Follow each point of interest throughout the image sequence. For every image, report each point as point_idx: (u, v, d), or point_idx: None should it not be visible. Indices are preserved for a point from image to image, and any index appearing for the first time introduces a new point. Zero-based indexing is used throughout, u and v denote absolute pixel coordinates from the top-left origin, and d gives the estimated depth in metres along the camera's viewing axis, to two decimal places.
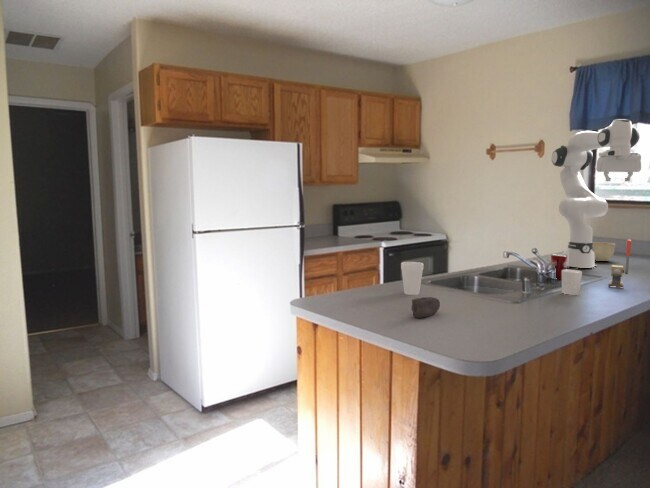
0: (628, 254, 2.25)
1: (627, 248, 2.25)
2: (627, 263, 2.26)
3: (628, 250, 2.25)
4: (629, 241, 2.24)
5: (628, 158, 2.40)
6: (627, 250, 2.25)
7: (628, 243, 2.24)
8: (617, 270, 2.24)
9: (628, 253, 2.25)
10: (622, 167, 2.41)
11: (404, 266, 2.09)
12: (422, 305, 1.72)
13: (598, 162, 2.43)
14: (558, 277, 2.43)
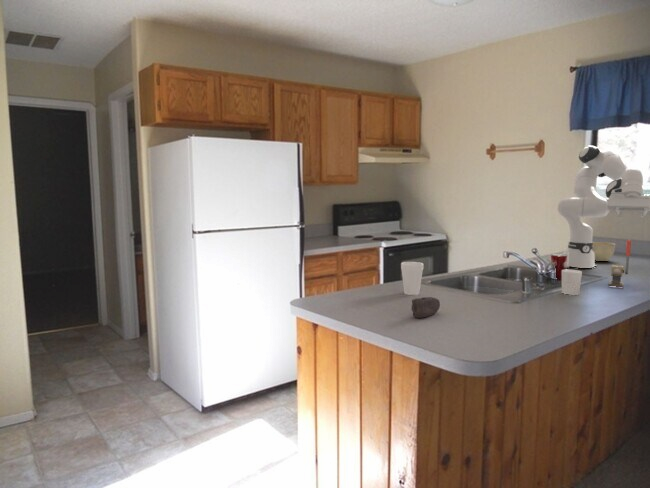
0: (628, 254, 2.25)
1: (627, 248, 2.25)
2: (627, 263, 2.26)
3: (628, 250, 2.25)
4: (629, 241, 2.24)
5: (640, 196, 2.38)
6: (627, 250, 2.25)
7: (628, 243, 2.24)
8: (617, 270, 2.24)
9: (628, 253, 2.25)
10: (633, 202, 2.37)
11: (404, 266, 2.09)
12: (422, 305, 1.72)
13: None
14: (558, 277, 2.43)
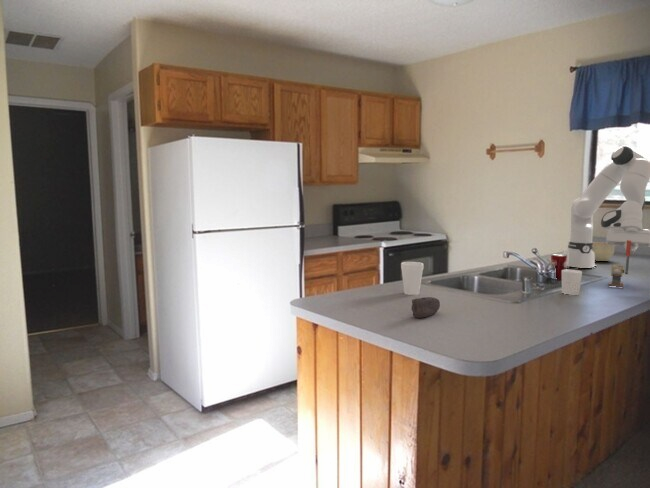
0: (628, 255, 2.24)
1: (627, 249, 2.23)
2: (627, 263, 2.25)
3: (628, 251, 2.23)
4: (629, 242, 2.22)
5: (640, 231, 2.28)
6: (627, 251, 2.24)
7: (628, 244, 2.23)
8: (617, 270, 2.24)
9: (628, 254, 2.24)
10: (633, 238, 2.27)
11: (404, 266, 2.09)
12: (422, 305, 1.72)
13: None
14: (558, 277, 2.43)
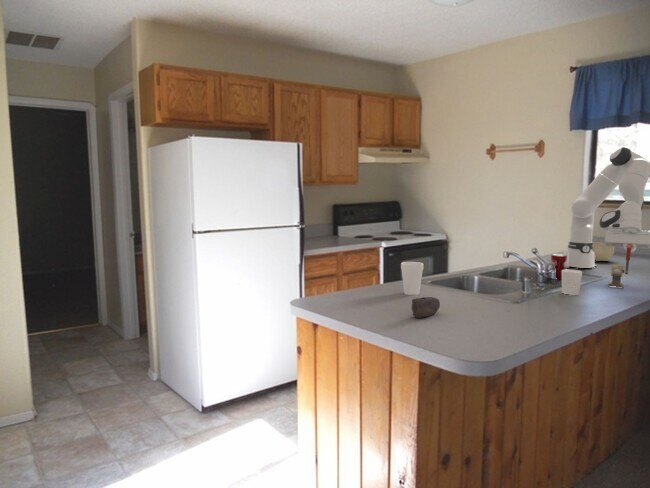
0: (628, 259, 2.21)
1: (627, 254, 2.20)
2: (627, 265, 2.24)
3: (628, 255, 2.21)
4: (629, 248, 2.18)
5: (639, 232, 2.25)
6: (626, 256, 2.21)
7: (628, 250, 2.19)
8: (617, 270, 2.24)
9: (628, 258, 2.21)
10: (631, 239, 2.24)
11: (404, 266, 2.09)
12: (422, 305, 1.72)
13: None
14: (558, 277, 2.43)
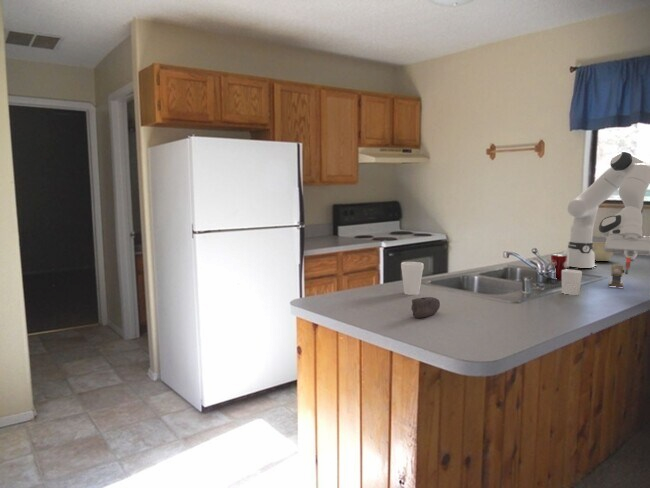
0: (627, 267, 2.20)
1: (626, 265, 2.18)
2: (627, 270, 2.23)
3: (627, 266, 2.18)
4: (628, 262, 2.15)
5: (640, 238, 2.21)
6: (626, 266, 2.19)
7: (627, 263, 2.16)
8: (617, 270, 2.24)
9: (627, 267, 2.19)
10: (632, 245, 2.20)
11: (404, 266, 2.09)
12: (422, 305, 1.72)
13: None
14: (558, 277, 2.43)
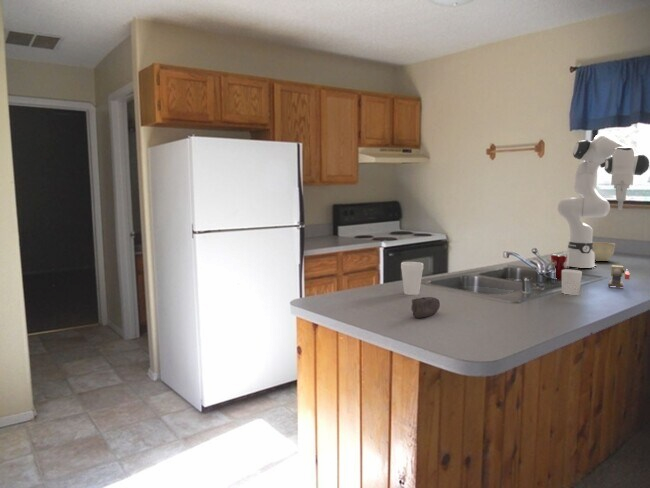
0: None
1: None
2: None
3: None
4: None
5: (617, 187, 2.35)
6: None
7: None
8: (617, 270, 2.24)
9: None
10: (616, 196, 2.38)
11: (404, 266, 2.09)
12: (422, 305, 1.72)
13: None
14: (558, 277, 2.43)
